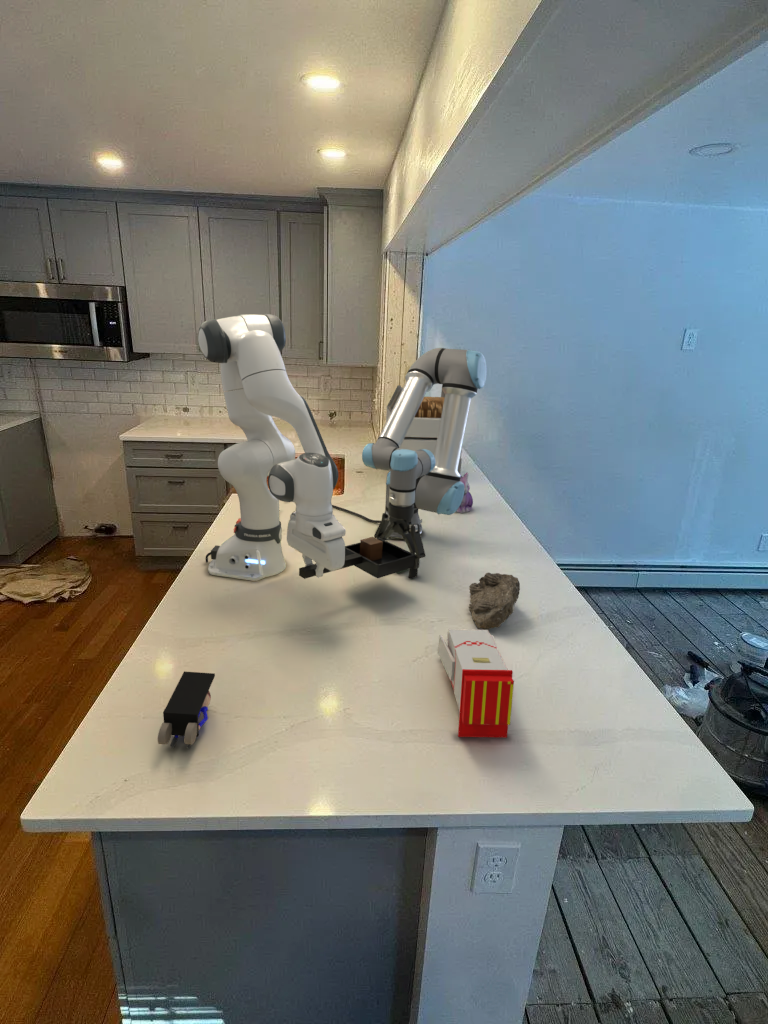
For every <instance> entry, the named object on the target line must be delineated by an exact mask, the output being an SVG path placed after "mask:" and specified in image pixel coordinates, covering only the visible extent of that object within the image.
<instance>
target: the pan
mask: <svg viewBox="0 0 768 1024" xmlns="http://www.w3.org/2000/svg"><path fill="white" fill-rule="evenodd" d="M376 539H378V540H380V541H383V547H382V558H381V559H378V560H374V561H371V560H369V559H367V558H365V557H363V556H362V555H360V542H356V543H352V544H348V545H345V562H344V566H343V567H342V568H341V569H340V570H342V569H345V568H348V567H352V566H354V567H355V568H357V569H359V570H361V571H363V572H364V573H367V574H368V575H370V576H372V577H374V578H376V579H380V578H384V577H387V576H391V575H394V574H397V572H400V571H404V570H407V569H408V570H409V569H410V568H413V567H415V554H416V553H415V554H412V553H410V551H408V550H406V549H404V548H402V547H399V546H397V545H395V544H393V543H391V542H390V541H388V540H383V539H381V538H376ZM387 541H388V542H387ZM316 568H317V565H316V563H313V565H309V566H306V567H305V566H302V567H299V568H298V576H299V577H301V578H302V579H304V580H306V579H309V578H313V577H316V576H315V575H314V569H316ZM408 570H407V571H408ZM335 571H336V570H334V571H333V572H335ZM331 572H332V571H330V570H328V569H327V568H324V570H323V575H324V574H327V573H331ZM404 572H405V571H404Z"/></svg>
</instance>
